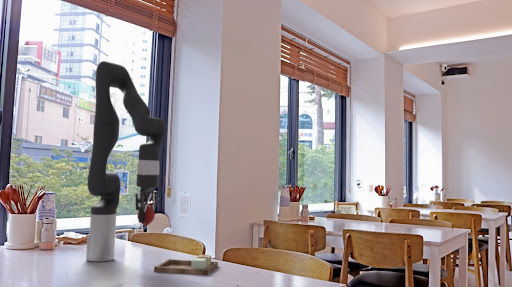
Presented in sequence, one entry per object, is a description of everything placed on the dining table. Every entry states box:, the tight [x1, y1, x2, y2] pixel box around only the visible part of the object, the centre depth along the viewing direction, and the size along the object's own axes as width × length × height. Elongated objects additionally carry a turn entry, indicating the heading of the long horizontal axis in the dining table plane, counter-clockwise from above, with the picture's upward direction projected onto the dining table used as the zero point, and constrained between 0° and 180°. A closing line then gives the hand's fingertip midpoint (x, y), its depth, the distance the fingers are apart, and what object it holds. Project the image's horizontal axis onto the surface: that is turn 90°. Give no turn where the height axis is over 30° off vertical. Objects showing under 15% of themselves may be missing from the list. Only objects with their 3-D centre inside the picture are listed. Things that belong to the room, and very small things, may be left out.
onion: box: [137, 205, 156, 227], centre depth 151 cm, size 6×6×8 cm
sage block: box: [191, 257, 207, 269], centre depth 142 cm, size 4×4×4 cm
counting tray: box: [153, 258, 219, 276], centre depth 146 cm, size 18×13×3 cm
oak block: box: [196, 254, 212, 269], centre depth 148 cm, size 4×4×4 cm
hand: (145, 221), depth 151 cm, fingers closed on onion, 6 cm apart
